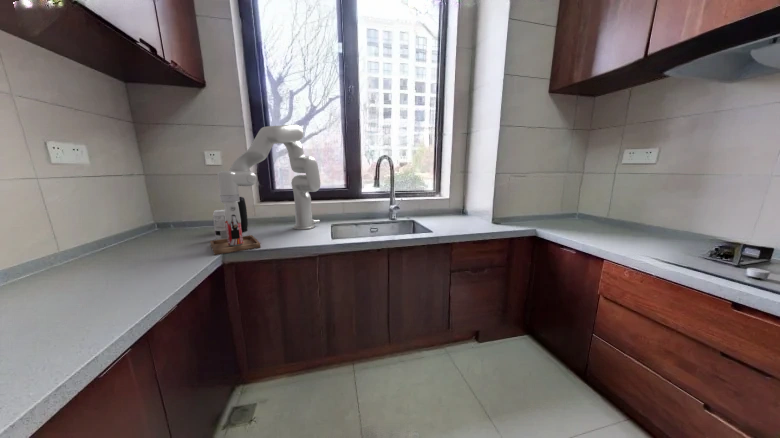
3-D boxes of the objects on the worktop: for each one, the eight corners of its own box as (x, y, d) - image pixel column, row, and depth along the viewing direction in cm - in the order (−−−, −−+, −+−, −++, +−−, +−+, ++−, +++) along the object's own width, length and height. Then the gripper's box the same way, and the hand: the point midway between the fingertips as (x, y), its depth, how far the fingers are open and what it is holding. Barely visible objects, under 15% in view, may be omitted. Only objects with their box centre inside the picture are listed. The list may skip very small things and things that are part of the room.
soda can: (241, 245, 124) (238, 219, 122) (226, 247, 122) (222, 221, 120) (245, 242, 130) (241, 218, 128) (230, 244, 128) (226, 219, 126)
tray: (252, 239, 139) (251, 235, 139) (260, 247, 125) (260, 243, 125) (210, 245, 128) (210, 240, 128) (214, 255, 114) (214, 250, 114)
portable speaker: (228, 233, 150) (224, 198, 147) (235, 229, 159) (231, 196, 156) (245, 232, 152) (241, 198, 148) (250, 229, 161) (247, 196, 157)
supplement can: (213, 239, 138) (210, 210, 135) (231, 236, 144) (228, 208, 141) (218, 242, 133) (215, 212, 130) (237, 239, 139) (233, 210, 136)
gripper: (242, 200, 118) (247, 239, 121) (236, 196, 131) (240, 232, 135) (222, 201, 113) (227, 242, 117) (218, 197, 127) (222, 234, 130)
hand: (234, 236), depth 126 cm, fingers open, 6 cm apart
